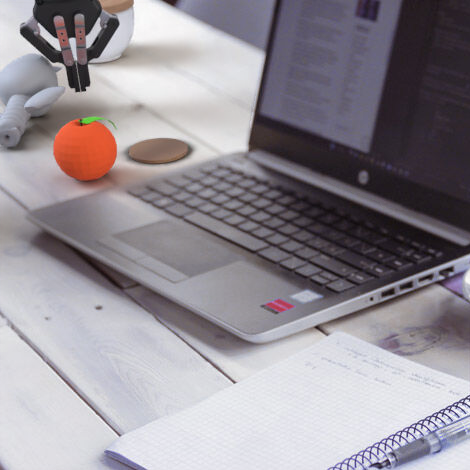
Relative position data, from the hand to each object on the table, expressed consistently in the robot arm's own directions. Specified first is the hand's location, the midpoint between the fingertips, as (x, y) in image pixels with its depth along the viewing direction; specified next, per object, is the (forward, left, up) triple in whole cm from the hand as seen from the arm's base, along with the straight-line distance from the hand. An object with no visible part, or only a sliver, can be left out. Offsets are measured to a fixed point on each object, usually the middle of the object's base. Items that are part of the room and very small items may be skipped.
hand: (80, 90), depth 126 cm
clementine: (+10, -20, -3) cm, 23 cm away
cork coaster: (+15, -12, -3) cm, 19 cm away
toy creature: (-6, -5, -3) cm, 8 cm away
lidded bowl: (-7, +23, -3) cm, 24 cm away
